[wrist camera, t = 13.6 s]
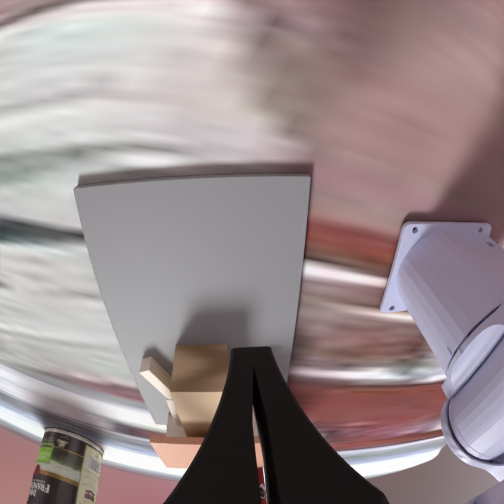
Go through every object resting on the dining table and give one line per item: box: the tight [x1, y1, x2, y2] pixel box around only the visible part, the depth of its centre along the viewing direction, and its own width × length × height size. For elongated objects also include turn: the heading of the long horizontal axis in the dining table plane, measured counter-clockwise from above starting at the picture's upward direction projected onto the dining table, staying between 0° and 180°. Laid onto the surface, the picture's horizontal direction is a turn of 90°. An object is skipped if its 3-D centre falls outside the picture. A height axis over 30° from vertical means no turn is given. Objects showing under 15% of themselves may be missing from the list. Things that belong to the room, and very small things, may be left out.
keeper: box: [74, 173, 311, 468], centre depth 21 cm, size 14×27×7 cm, turn 0°
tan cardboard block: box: [170, 344, 229, 438], centre depth 24 cm, size 4×10×4 cm, turn 0°
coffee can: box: [27, 428, 104, 504], centre depth 30 cm, size 10×10×14 cm
